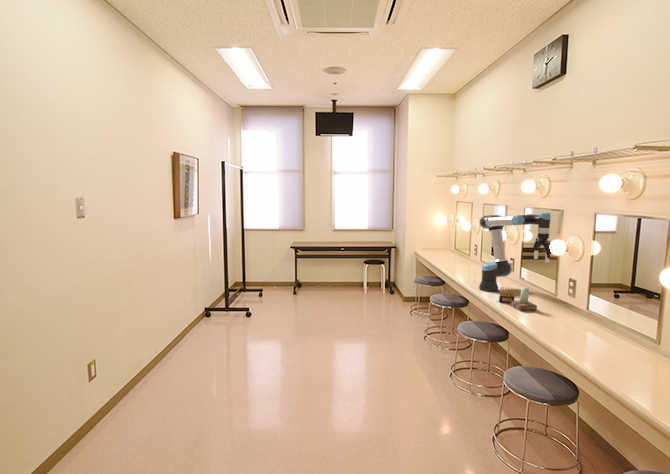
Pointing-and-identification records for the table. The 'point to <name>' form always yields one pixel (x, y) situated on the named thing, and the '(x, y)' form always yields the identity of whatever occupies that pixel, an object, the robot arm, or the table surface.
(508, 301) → the ammunition clip
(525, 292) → the sage cylinder
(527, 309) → the walnut plinth
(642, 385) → the table surface
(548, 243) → the robot arm
